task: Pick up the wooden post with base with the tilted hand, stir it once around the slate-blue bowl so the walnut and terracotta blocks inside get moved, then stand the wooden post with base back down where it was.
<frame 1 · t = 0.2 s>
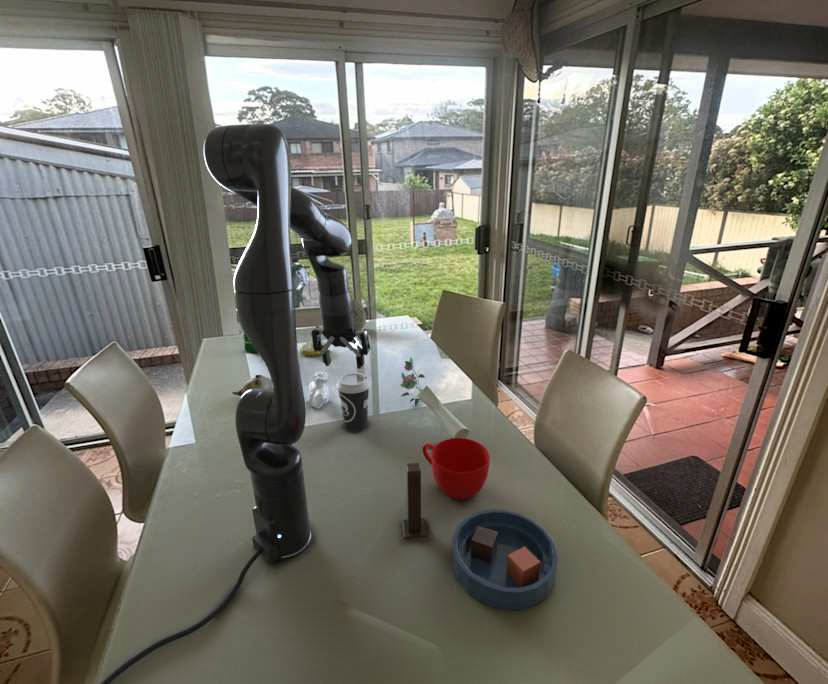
hand: (344, 365, 112), 22 cm above the table, tool pointing down, fingers open, 8 cm apart
walnut block: (483, 552, 84), point 1 cm above the table, touching bowl
coffee cup: (356, 425, 127), on the table
decorative egg: (355, 331, 203), on the table
decorated donut: (314, 352, 179), on the table
flower vase: (429, 415, 133), on the table
bowl: (502, 566, 82), on the table
ceramic cup: (452, 487, 102), on the table
wooden post with base: (414, 531, 90), on the table
terracotta block: (522, 575, 79), point 1 cm above the table, touching bowl
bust: (319, 402, 140), on the table
ceramic sculpture: (259, 399, 143), on the table
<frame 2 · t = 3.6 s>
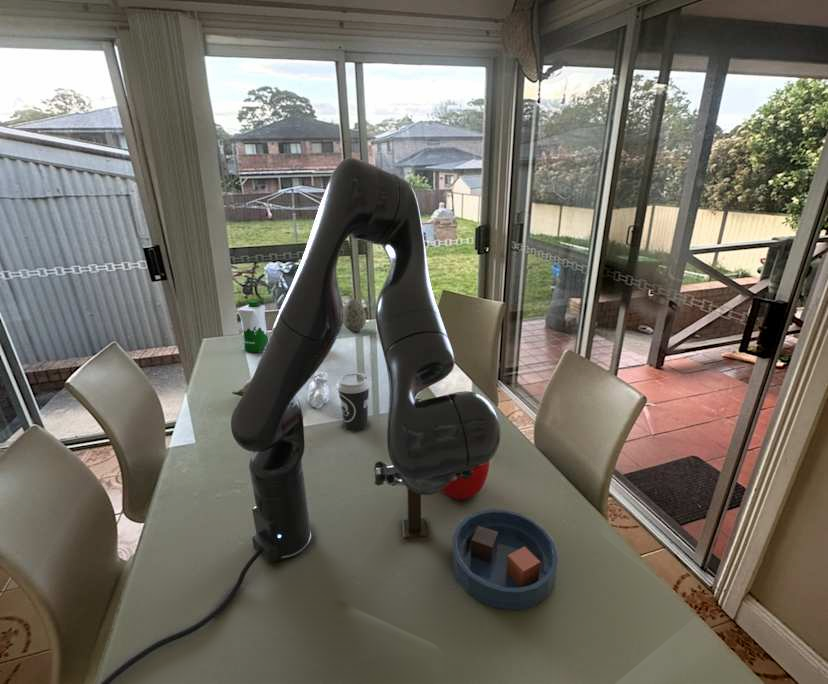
hand: (419, 477, 71), 23 cm above the table, tool tilted 45°, fingers open, 8 cm apart
nothing on the table moved.
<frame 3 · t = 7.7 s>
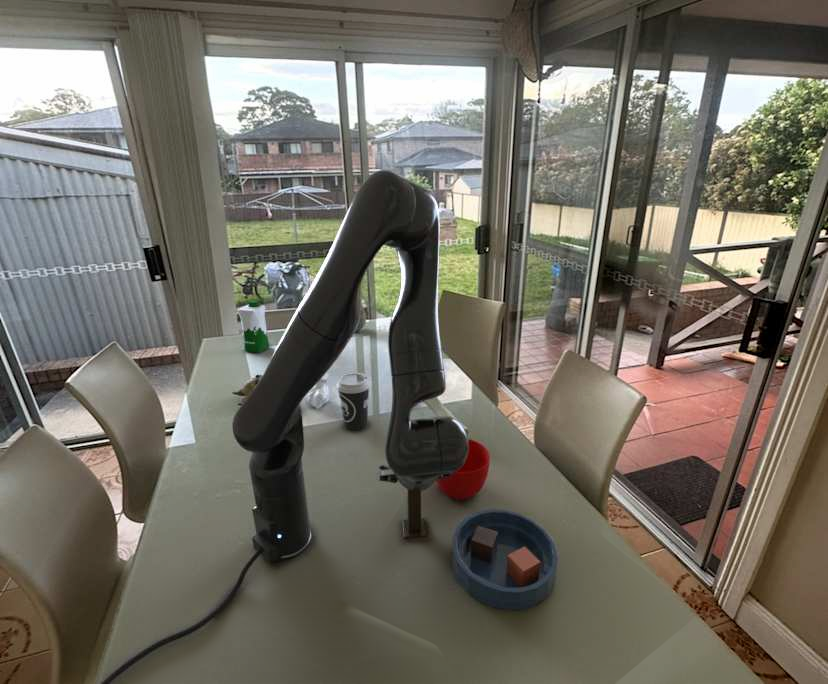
hand: (412, 477, 87), 12 cm above the table, tool tilted 45°, fingers closed on wooden post with base, 2 cm apart
wooden post with base: (414, 531, 90), on the table, touching gripper
everything else where it was.
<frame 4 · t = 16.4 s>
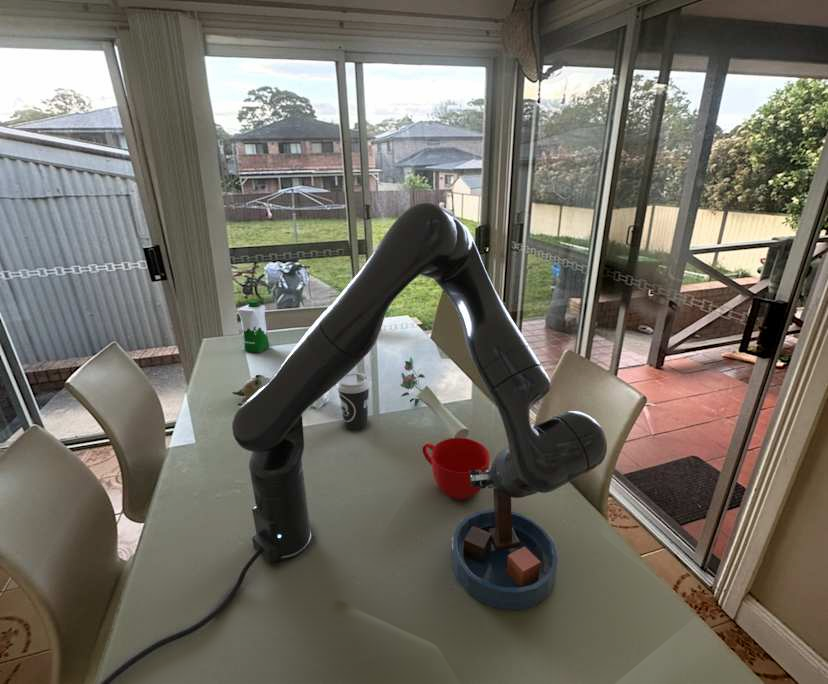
hand: (497, 481, 81), 15 cm above the table, tool tilted 45°, fingers closed on wooden post with base, 2 cm apart
walnut block: (477, 552, 84), point 1 cm above the table, touching bowl, wooden post with base
wooden post with base: (503, 540, 83), point 3 cm above the table, tilted 5°, touching gripper, walnut block
everything else where it was.
when the fingers open (12 cm above the table, at t = 28.9 s): wooden post with base stays where it is, on the table.
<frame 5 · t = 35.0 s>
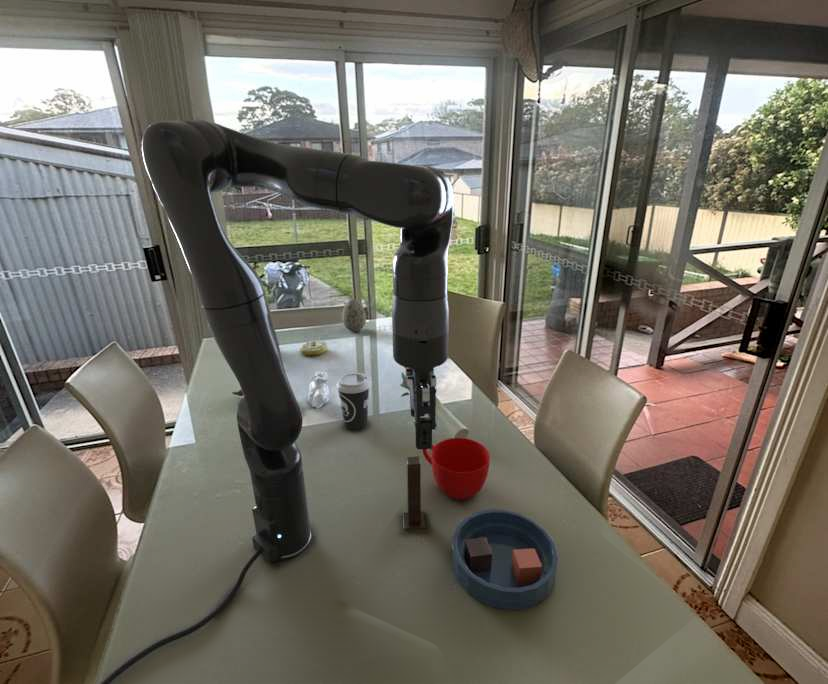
hand: (420, 430, 65), 33 cm above the table, tool pointing down, fingers open, 8 cm apart
walnut block: (477, 563, 81), point 1 cm above the table, touching bowl
wooden post with base: (414, 524, 92), on the table
at the end: walnut block moved 2.9 cm from its start; walnut block inside the target area in the bowl (4.6 cm from its centre), point 0.8 cm above the bowl's base; terracotta block inside the target area in the bowl (4.4 cm from its centre), point 0.8 cm above the bowl's base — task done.
